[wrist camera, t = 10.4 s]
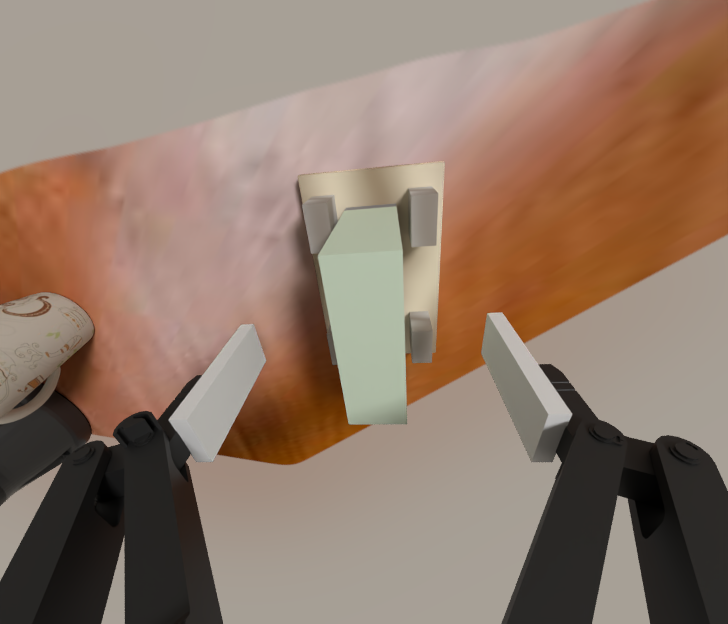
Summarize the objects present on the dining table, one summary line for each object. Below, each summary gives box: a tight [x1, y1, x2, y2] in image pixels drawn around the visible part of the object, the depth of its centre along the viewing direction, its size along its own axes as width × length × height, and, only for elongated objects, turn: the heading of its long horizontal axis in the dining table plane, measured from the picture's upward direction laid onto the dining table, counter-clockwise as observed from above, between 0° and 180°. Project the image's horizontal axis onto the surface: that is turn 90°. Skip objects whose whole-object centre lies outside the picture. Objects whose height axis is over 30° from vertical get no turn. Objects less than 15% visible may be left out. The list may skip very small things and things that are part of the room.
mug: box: [0, 292, 94, 424], centre depth 26 cm, size 8×13×10 cm, turn 165°
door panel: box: [318, 203, 407, 424], centre depth 19 cm, size 4×11×10 cm, turn 5°
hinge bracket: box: [298, 161, 445, 365], centre depth 23 cm, size 10×16×4 cm, turn 5°
